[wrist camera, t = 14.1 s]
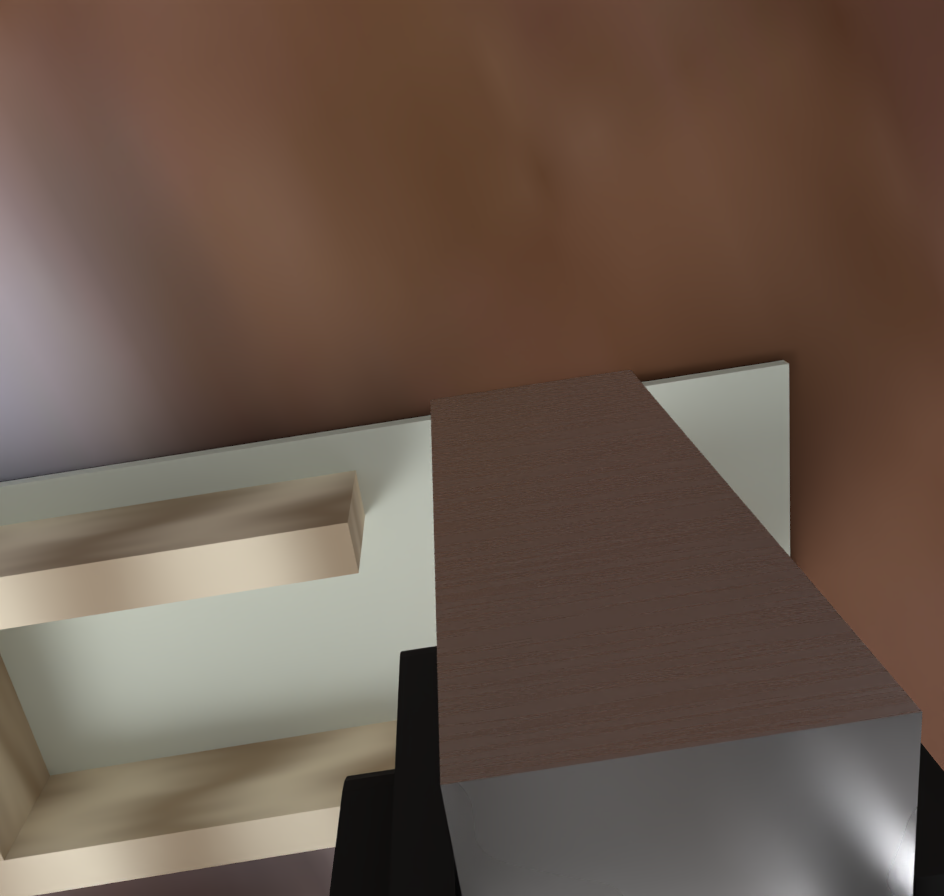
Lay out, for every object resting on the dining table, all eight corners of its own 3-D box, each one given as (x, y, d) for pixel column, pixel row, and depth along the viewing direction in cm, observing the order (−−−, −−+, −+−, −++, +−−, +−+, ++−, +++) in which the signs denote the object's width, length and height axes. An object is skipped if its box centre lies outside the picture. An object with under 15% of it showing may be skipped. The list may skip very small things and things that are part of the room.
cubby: (355, 470, 25) (347, 522, 22) (414, 754, 29) (415, 834, 26) (-100, 541, 25) (-175, 604, 22) (20, 817, 29) (-29, 905, 26)
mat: (783, 360, 26) (788, 363, 25) (786, 714, 30) (790, 721, 30) (-108, 498, 25) (-116, 504, 25) (36, 834, 30) (31, 844, 30)
